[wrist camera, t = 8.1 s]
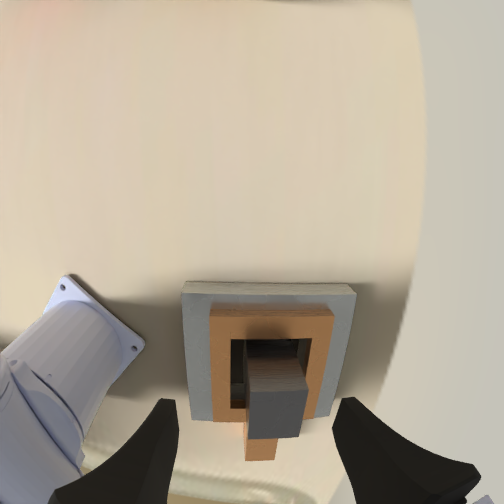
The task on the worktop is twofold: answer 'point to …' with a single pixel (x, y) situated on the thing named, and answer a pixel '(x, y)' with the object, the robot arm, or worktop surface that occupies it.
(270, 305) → the grey and brown socket
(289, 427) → the dark grey rectangular block
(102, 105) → the worktop surface
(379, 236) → the worktop surface
